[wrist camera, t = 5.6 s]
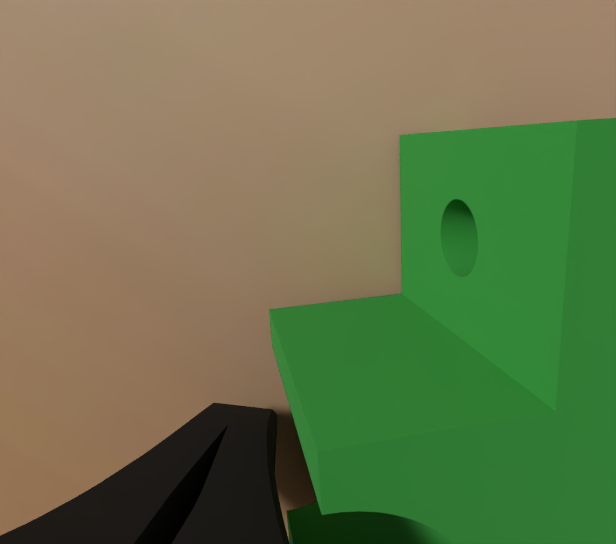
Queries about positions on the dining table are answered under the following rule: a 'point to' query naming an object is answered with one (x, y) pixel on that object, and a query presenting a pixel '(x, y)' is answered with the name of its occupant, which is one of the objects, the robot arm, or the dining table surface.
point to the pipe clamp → (471, 353)
